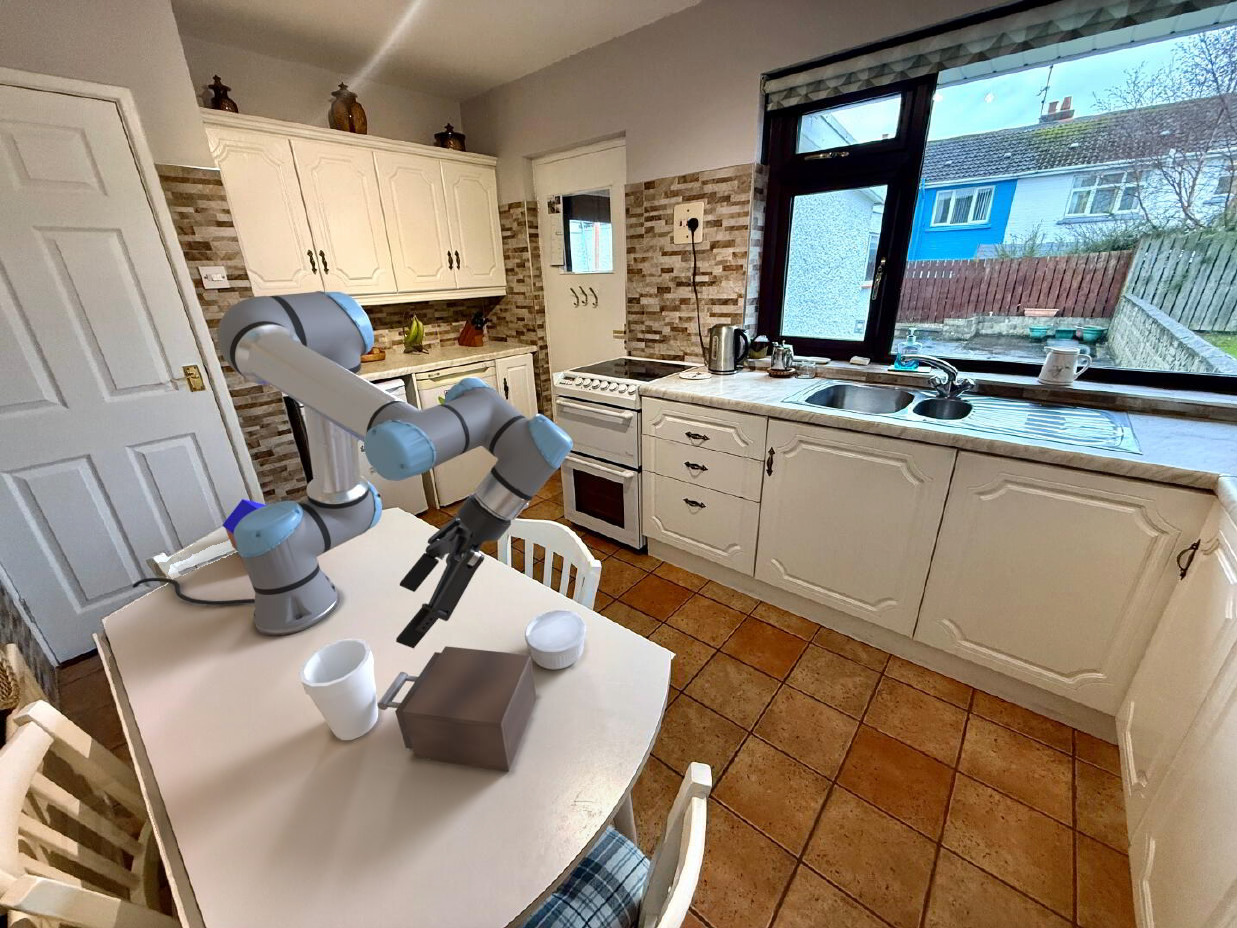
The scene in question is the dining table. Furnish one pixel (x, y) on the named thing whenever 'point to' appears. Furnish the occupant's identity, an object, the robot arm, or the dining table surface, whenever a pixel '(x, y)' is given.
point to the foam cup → (343, 686)
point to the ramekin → (556, 638)
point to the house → (239, 517)
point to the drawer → (395, 688)
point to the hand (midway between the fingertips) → (405, 613)
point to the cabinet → (472, 708)
